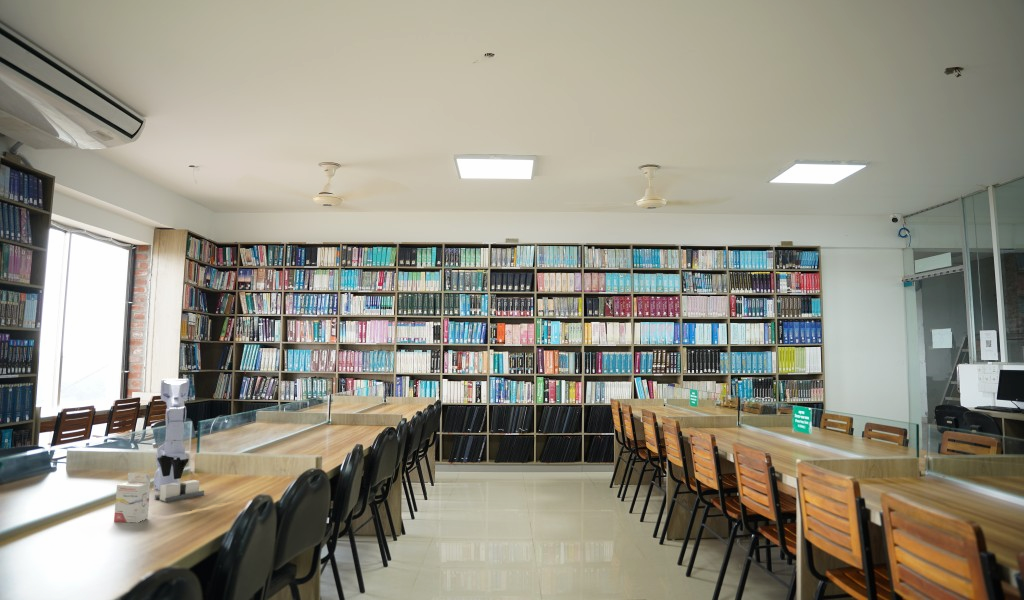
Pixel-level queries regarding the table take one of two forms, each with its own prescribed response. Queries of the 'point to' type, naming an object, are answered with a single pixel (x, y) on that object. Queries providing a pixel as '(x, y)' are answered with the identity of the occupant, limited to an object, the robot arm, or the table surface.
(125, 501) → the ink cartridge box
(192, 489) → the white and grey block
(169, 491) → the white cardboard box
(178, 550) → the table surface
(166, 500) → the sliding window
